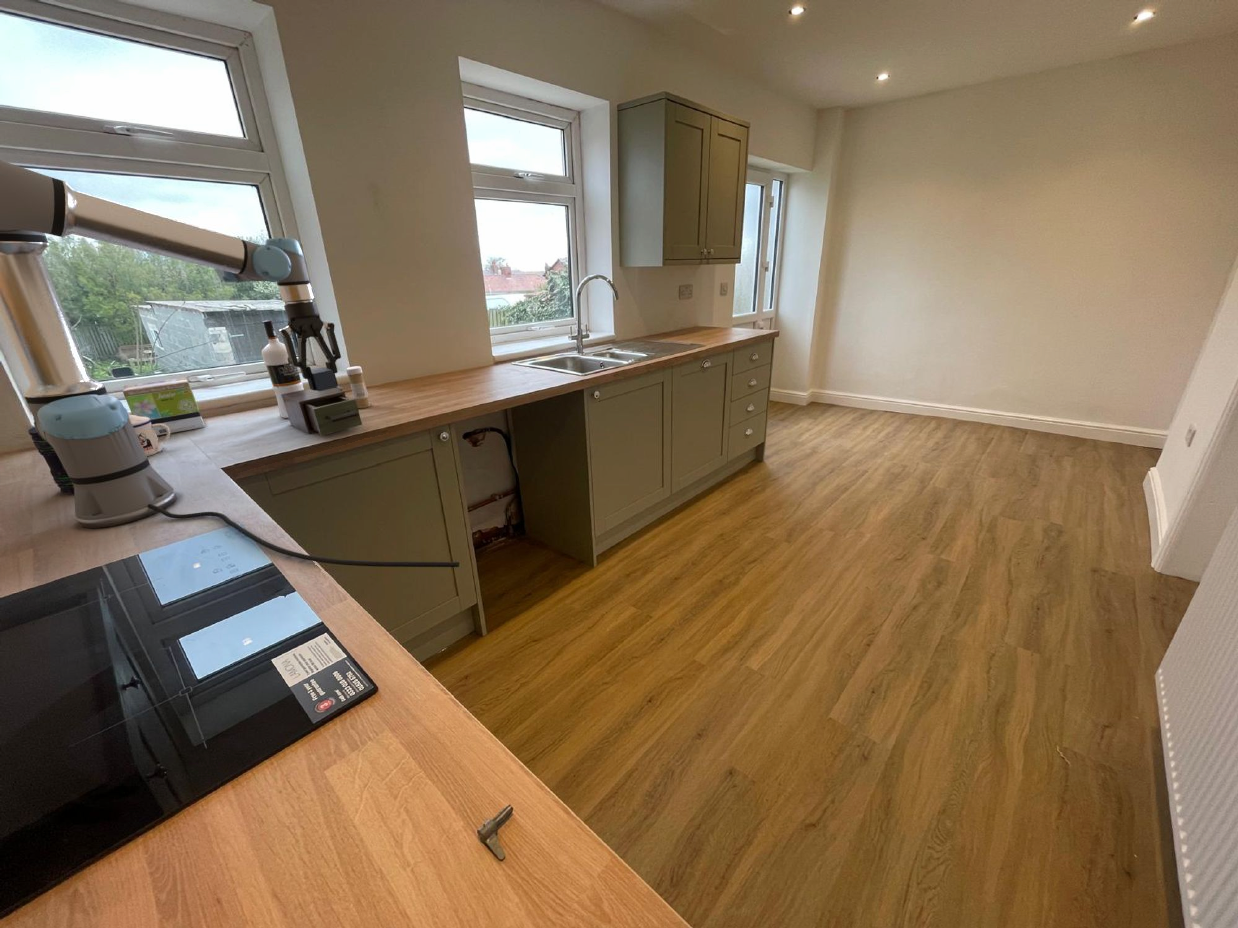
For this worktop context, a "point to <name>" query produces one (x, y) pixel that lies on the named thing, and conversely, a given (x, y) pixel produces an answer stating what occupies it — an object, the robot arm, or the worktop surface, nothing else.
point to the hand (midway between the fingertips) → (324, 387)
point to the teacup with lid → (148, 434)
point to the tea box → (165, 404)
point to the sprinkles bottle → (358, 386)
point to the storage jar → (53, 463)
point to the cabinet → (297, 400)
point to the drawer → (332, 414)
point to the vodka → (280, 368)
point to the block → (324, 379)
